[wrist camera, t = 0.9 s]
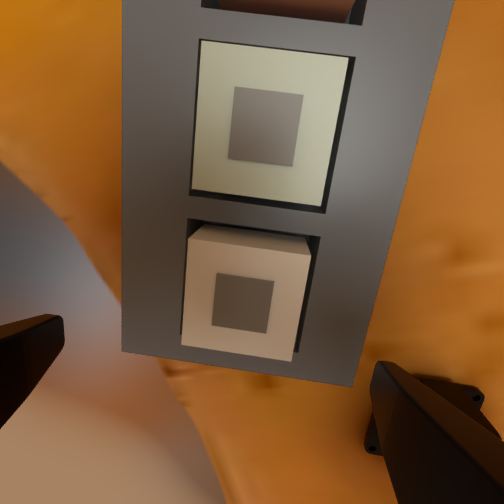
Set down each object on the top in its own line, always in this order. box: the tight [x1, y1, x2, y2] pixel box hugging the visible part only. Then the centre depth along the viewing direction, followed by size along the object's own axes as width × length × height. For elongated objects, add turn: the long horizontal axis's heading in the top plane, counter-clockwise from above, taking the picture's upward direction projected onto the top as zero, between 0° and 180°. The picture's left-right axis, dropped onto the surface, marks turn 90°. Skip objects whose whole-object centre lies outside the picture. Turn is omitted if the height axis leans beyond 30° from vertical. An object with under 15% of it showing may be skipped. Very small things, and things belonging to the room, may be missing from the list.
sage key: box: [192, 41, 349, 206], centre depth 13 cm, size 5×5×3 cm
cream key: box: [181, 224, 311, 362], centre depth 15 cm, size 5×5×3 cm
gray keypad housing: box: [122, 0, 455, 387], centre depth 15 cm, size 23×12×5 cm, turn 173°
